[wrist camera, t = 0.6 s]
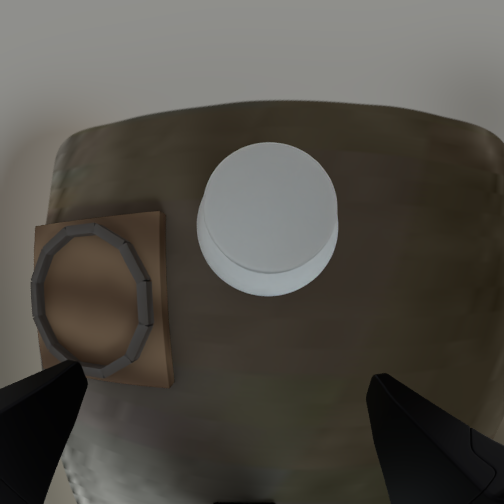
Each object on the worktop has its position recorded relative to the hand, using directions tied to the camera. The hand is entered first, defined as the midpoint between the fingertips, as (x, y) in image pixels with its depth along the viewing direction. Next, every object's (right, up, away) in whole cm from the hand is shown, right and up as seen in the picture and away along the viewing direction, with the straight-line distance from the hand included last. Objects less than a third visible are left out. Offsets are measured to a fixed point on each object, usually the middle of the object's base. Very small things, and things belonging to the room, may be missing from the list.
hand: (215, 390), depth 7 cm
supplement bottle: (+2, +4, +15) cm, 16 cm away
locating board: (-13, 0, +15) cm, 20 cm away
